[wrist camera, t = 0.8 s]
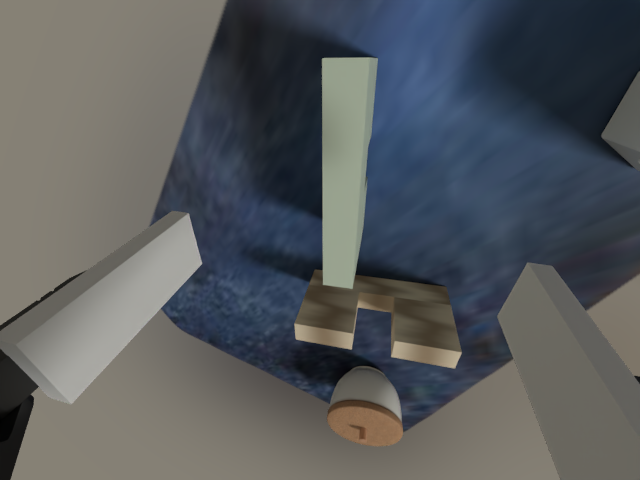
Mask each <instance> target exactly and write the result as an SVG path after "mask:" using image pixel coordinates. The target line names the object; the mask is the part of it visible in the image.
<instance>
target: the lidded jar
mask: <svg viewBox="0 0 640 480" xmlns="http://www.w3.org/2000/svg"><path fill="white" fill-rule="evenodd" d="M327 421H328V423H329V426H330V427H331V428H332V429H333V430H334V431H335V432H336V433H337V434H339V435H340V436H342V437H344V438H345V439H348V440H350V441H353V442H355V443H359V444H363V445H368V446H388V445H392V444H394V443H396V442H398V441H399V440H400V439H401V437H402V434H403V427H402V417H401V408H400V402H399V398H398V395H397V392H396V390H395V388H394V386H393V385H392V383H391V382H390V381H389V380H388V379H387V378H386V376H385V375H384V373H383V372H381V371H380V370H378V369H376V368H373V367H370V366H357V367H354V368H353V369H351V370H350V371H349V372H348V373H346V374H345V375H344V376H343V377H342V378H341V379H340V380H339V381H338V383H337V385H336V387H335V389H334V392H333V395H332V399H331V403H330V408H329V410H328V415H327Z"/></svg>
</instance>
